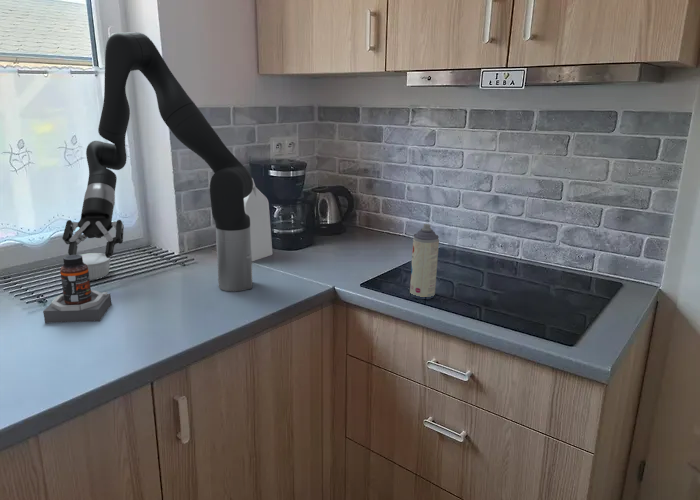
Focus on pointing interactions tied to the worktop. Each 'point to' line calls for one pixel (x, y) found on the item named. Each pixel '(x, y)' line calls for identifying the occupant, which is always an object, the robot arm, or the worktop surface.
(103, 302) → the octagonal shallow tray
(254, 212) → the milk
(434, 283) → the aerosol can
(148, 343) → the worktop surface
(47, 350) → the worktop surface
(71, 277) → the supplement bottle
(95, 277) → the ramekin
